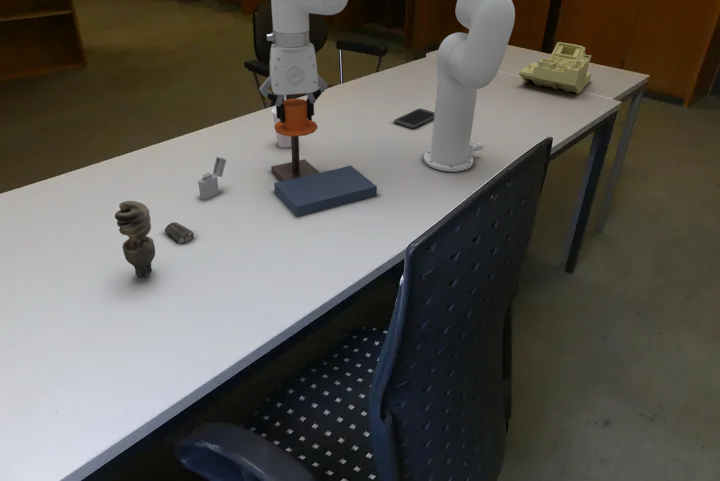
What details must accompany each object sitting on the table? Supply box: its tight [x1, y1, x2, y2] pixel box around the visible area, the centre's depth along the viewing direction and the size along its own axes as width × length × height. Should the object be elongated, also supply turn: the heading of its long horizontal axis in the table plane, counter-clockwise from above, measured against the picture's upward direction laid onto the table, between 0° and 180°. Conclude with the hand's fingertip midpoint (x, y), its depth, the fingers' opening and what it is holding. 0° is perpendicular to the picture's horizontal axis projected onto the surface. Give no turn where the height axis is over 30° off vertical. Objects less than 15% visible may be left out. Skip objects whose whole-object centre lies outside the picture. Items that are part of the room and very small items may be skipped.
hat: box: [273, 98, 319, 137], centre depth 131 cm, size 10×10×6 cm
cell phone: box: [393, 107, 435, 130], centre depth 172 cm, size 7×14×1 cm, turn 141°
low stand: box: [273, 165, 378, 217], centre depth 132 cm, size 20×12×2 cm, turn 120°
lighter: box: [197, 156, 227, 201], centre depth 129 cm, size 7×2×8 cm, turn 142°
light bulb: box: [114, 200, 156, 279], centre depth 101 cm, size 6×6×15 cm
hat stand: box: [270, 136, 321, 182], centre depth 136 cm, size 9×9×14 cm
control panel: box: [518, 41, 593, 95], centre depth 199 cm, size 24×16×20 cm
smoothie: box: [271, 95, 291, 149], centre depth 151 cm, size 6×6×14 cm
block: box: [164, 221, 194, 244], centre depth 116 cm, size 4×6×2 cm, turn 52°
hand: (295, 119), depth 132 cm, fingers closed on hat, 5 cm apart
